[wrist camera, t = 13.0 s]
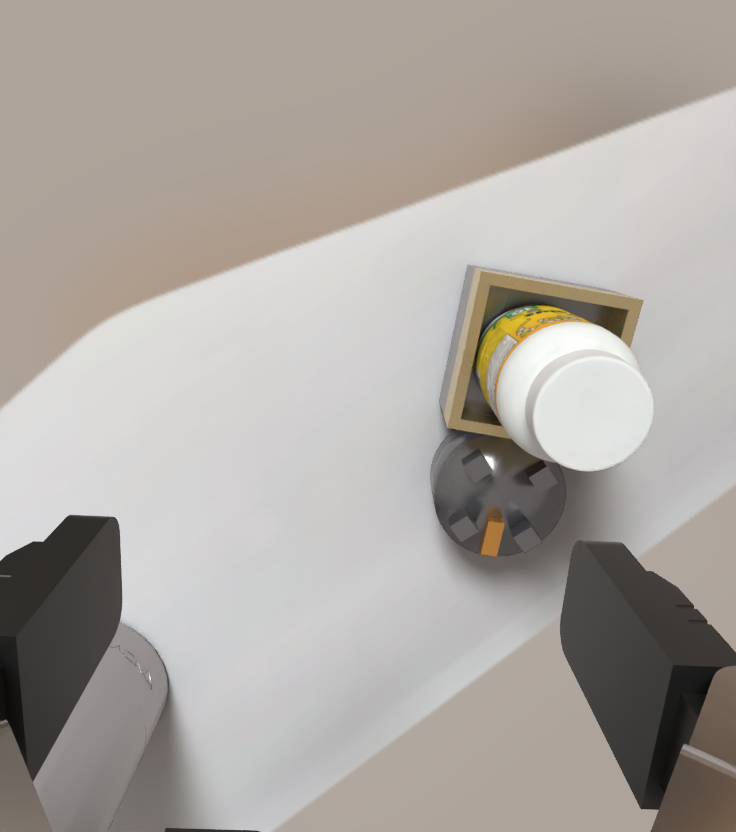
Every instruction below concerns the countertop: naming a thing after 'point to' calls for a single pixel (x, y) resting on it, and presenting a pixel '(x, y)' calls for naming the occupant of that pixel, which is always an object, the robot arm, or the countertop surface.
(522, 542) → the tan and grey box
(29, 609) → the robot arm
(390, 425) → the countertop surface
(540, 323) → the supplement bottle
